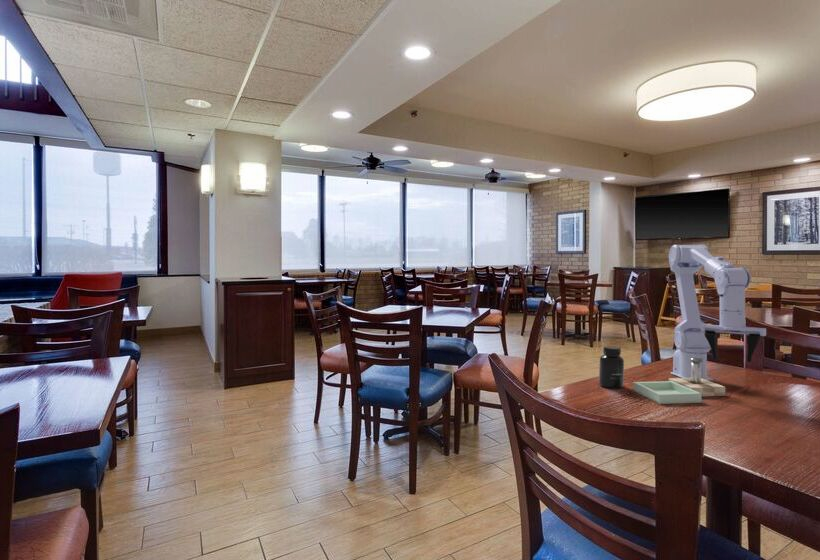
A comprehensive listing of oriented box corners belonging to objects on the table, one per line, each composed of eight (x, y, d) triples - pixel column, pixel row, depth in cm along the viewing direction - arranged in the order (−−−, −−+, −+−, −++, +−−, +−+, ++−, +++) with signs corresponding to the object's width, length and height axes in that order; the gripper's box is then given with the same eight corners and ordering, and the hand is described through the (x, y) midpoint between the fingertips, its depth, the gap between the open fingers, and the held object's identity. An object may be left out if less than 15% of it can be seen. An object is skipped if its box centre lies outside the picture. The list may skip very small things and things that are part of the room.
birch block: (668, 386, 132) (668, 378, 132) (699, 385, 133) (699, 377, 133) (691, 396, 122) (691, 387, 122) (725, 395, 123) (725, 386, 123)
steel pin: (686, 389, 129) (687, 357, 128) (696, 389, 129) (697, 357, 129) (694, 392, 126) (695, 360, 125) (704, 392, 126) (705, 359, 125)
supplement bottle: (617, 390, 128) (618, 350, 127) (595, 385, 133) (595, 347, 133) (627, 386, 133) (627, 347, 132) (605, 381, 138) (605, 344, 137)
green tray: (633, 390, 128) (633, 382, 128) (671, 389, 129) (671, 381, 129) (659, 403, 116) (659, 394, 116) (701, 402, 117) (701, 393, 117)
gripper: (697, 310, 122) (697, 357, 122) (763, 313, 112) (763, 365, 112) (704, 309, 127) (704, 354, 127) (767, 311, 117) (767, 361, 117)
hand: (732, 359), depth 120 cm, fingers open, 7 cm apart
